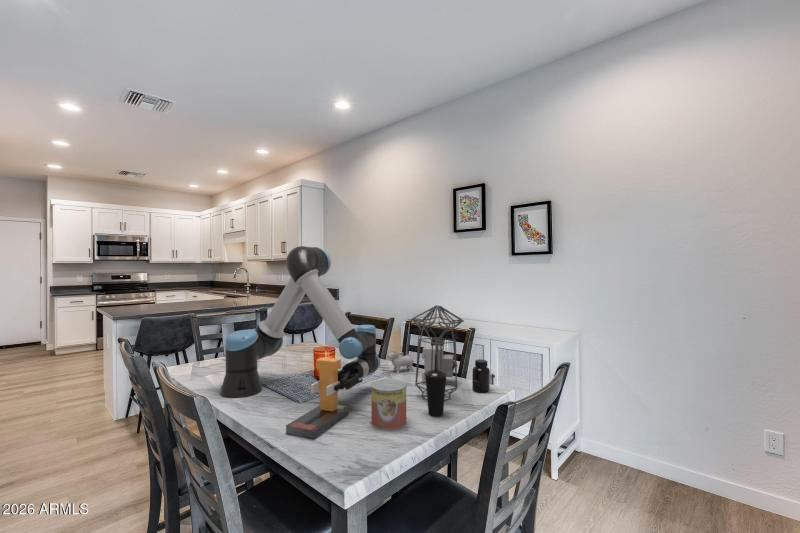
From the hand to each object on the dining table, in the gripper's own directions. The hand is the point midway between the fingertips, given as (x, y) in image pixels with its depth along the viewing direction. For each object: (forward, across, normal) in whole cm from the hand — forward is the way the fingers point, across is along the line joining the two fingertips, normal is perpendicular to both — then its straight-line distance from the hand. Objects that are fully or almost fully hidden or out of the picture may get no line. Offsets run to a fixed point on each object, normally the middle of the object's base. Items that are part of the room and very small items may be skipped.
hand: (319, 390), depth 121 cm
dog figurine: (-65, -2, -11) cm, 66 cm away
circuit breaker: (-55, -24, -11) cm, 61 cm away
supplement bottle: (-51, -42, -11) cm, 67 cm away
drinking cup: (-21, -32, -11) cm, 40 cm away
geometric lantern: (-37, -28, -11) cm, 48 cm away
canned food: (-9, -20, -11) cm, 24 cm away
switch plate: (0, 0, -10) cm, 11 cm away
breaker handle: (-5, 0, -8) cm, 9 cm away
